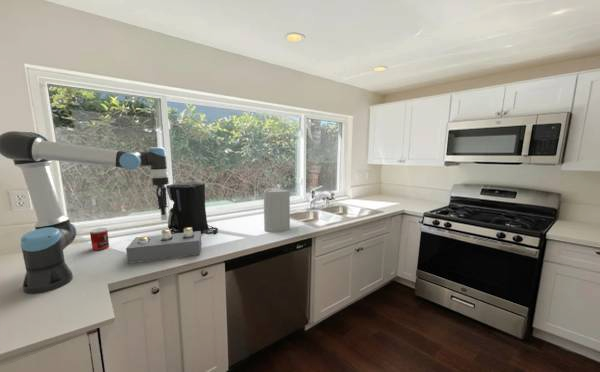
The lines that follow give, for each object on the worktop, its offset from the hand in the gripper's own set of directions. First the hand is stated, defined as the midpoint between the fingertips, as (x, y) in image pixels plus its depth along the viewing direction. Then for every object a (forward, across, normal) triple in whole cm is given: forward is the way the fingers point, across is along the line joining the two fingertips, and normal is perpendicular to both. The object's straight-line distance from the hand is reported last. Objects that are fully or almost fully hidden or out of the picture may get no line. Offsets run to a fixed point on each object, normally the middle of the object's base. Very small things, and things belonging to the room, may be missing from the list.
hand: (164, 219), depth 136 cm
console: (+19, 0, 0) cm, 19 cm away
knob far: (+14, 0, -11) cm, 18 cm away
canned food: (+19, +19, +38) cm, 46 cm away
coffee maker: (+19, +31, -9) cm, 38 cm away
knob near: (+17, 0, +11) cm, 20 cm away
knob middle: (+14, 0, 0) cm, 14 cm away
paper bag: (+20, +20, -64) cm, 70 cm away
